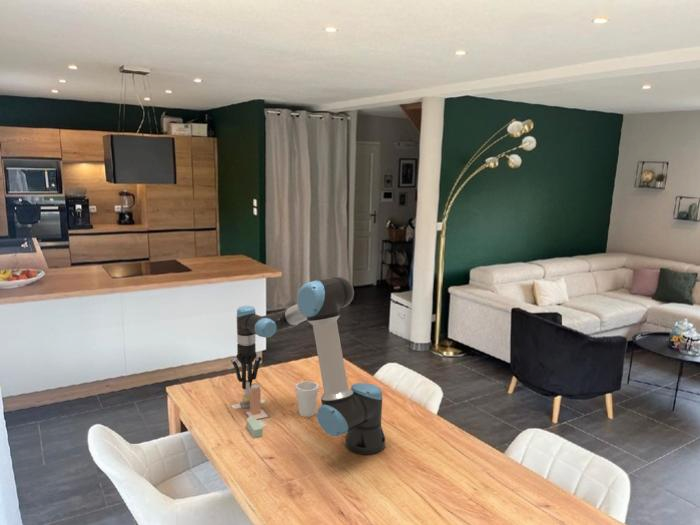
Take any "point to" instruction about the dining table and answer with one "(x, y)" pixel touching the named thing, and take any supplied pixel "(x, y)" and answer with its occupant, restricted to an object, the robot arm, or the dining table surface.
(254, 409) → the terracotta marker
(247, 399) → the button
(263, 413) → the white flat panel
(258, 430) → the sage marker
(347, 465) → the dining table surface
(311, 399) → the foam cup
